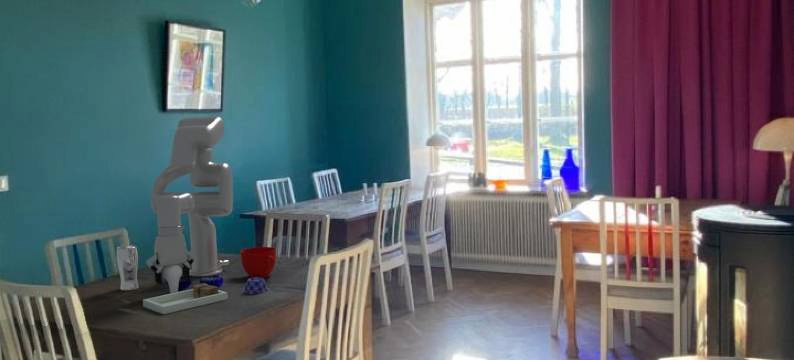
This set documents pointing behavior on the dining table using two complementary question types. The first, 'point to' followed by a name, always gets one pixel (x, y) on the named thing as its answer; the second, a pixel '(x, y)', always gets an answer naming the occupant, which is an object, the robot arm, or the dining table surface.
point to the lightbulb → (173, 276)
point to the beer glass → (127, 267)
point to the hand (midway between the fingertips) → (172, 281)
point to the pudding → (255, 286)
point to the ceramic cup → (258, 261)
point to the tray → (181, 301)
